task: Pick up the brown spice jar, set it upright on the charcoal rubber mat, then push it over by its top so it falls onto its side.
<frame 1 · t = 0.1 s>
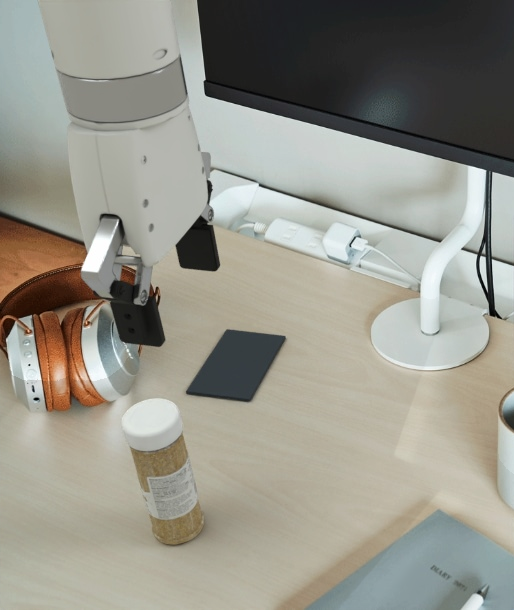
hand: (173, 303, 69), 24 cm above the table, tool pointing down, fingers open, 9 cm apart
brown spice jar: (180, 528, 82), on the table
mat: (238, 365, 100), on the table
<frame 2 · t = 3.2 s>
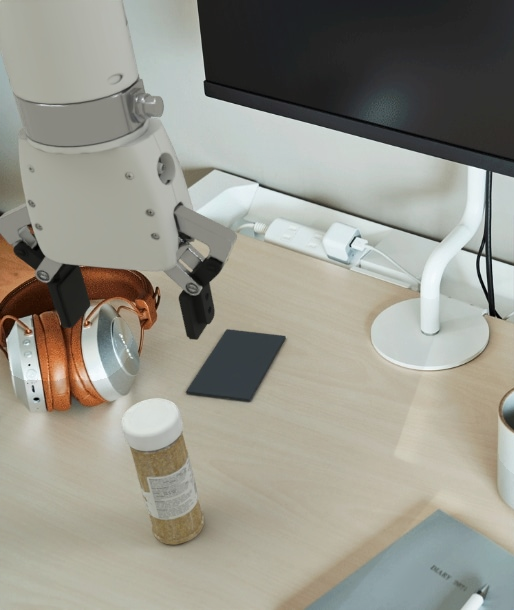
hand: (138, 322, 69), 22 cm above the table, tool pointing down, fingers open, 9 cm apart
nothing on the table moved.
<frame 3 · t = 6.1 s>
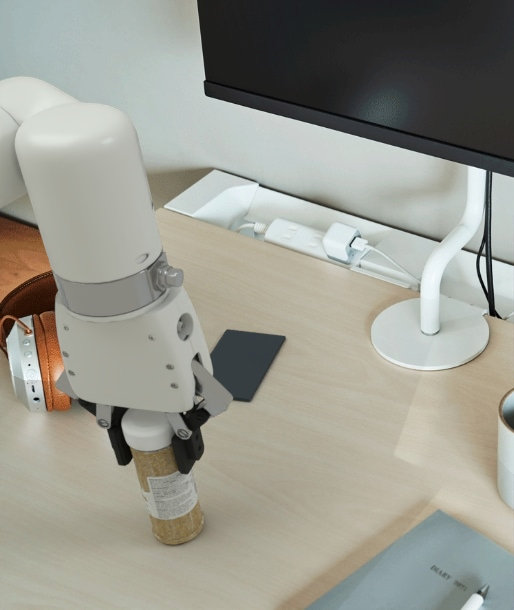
hand: (160, 456, 77), 9 cm above the table, tool pointing down, fingers closed on brown spice jar, 4 cm apart
brown spice jar: (180, 528, 82), on the table, touching gripper
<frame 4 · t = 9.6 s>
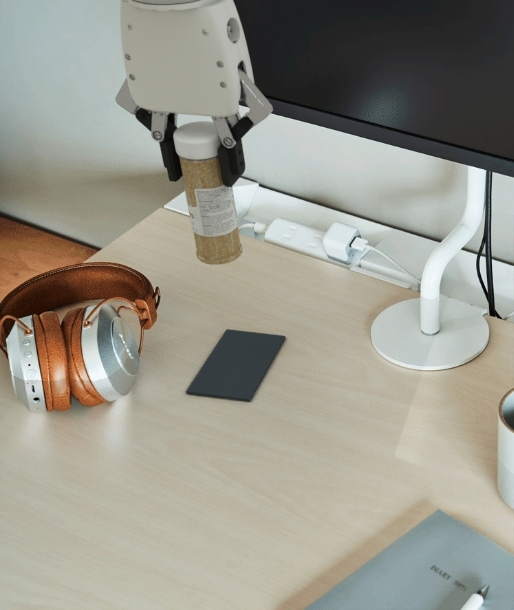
hand: (206, 175, 86), 23 cm above the table, tool pointing down, fingers closed on brown spice jar, 4 cm apart
brown spice jar: (220, 256, 92), point 14 cm above the table, touching gripper
when the fingers open (9 cm above the table, at t = 13.2 s): brown spice jar stays where it is, resting on mat.
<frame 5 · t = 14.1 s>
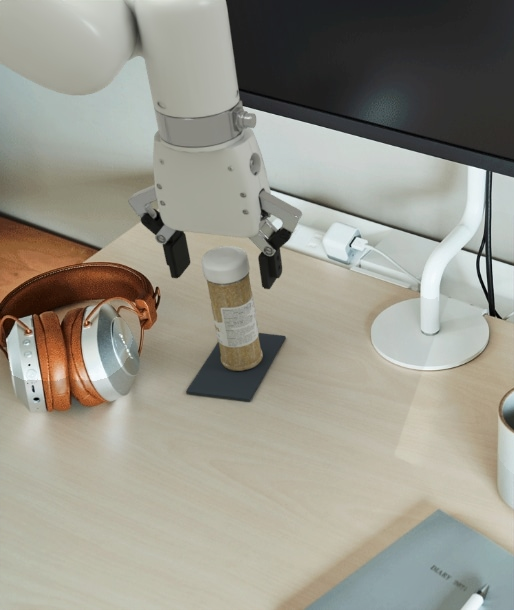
hand: (226, 276, 94), 11 cm above the table, tool pointing down, fingers open, 9 cm apart
brown spice jar: (242, 361, 101), resting on mat
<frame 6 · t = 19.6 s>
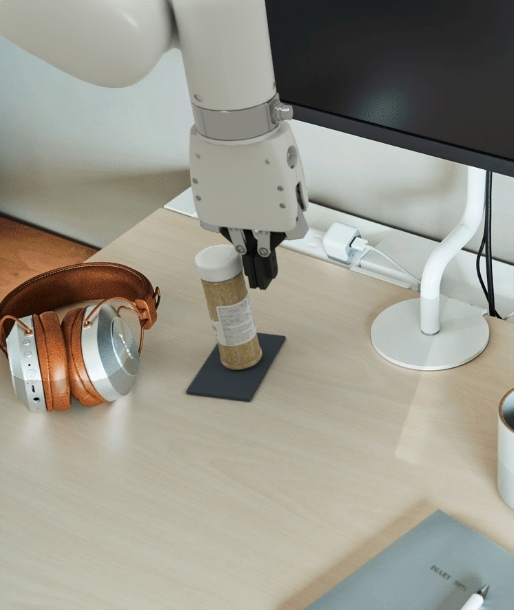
hand: (262, 281, 94), 11 cm above the table, tool pointing down, fingers closed
brown spice jar: (242, 360, 101), resting on mat, touching gripper
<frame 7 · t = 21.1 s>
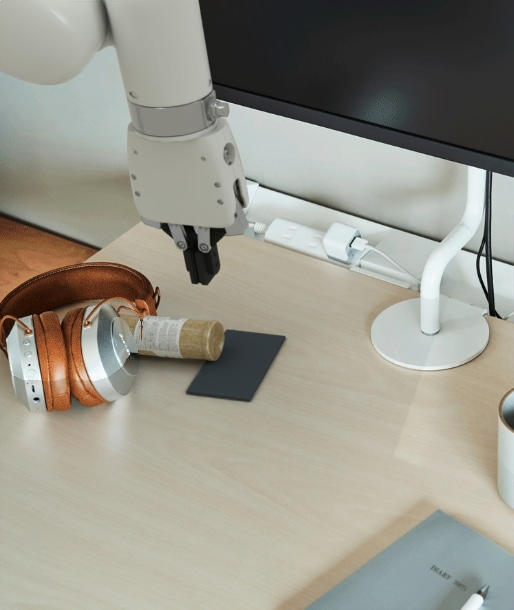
hand: (205, 277, 95), 11 cm above the table, tool pointing down, fingers closed
brown spice jar: (219, 340, 100), point 3 cm above the table, touching mat
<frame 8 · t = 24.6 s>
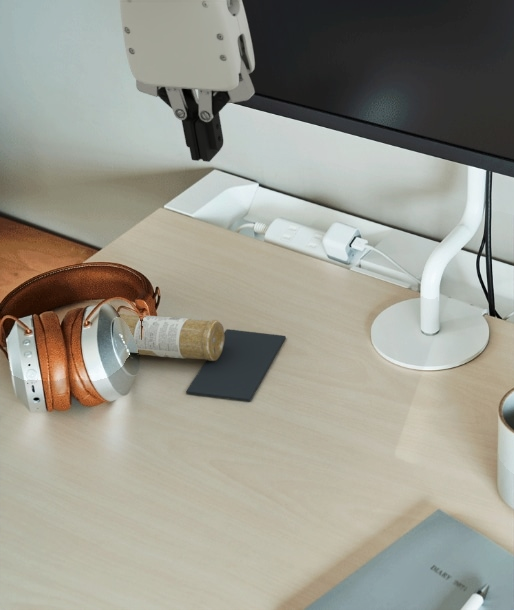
hand: (207, 154, 86), 25 cm above the table, tool pointing down, fingers closed
nothing on the table moved.
at the end: brown spice jar tilted 92°; brown spice jar inside the target area on the mat (0.6 cm from its centre), point 2.7 cm above the mat's base; the gripper is holding nothing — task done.
